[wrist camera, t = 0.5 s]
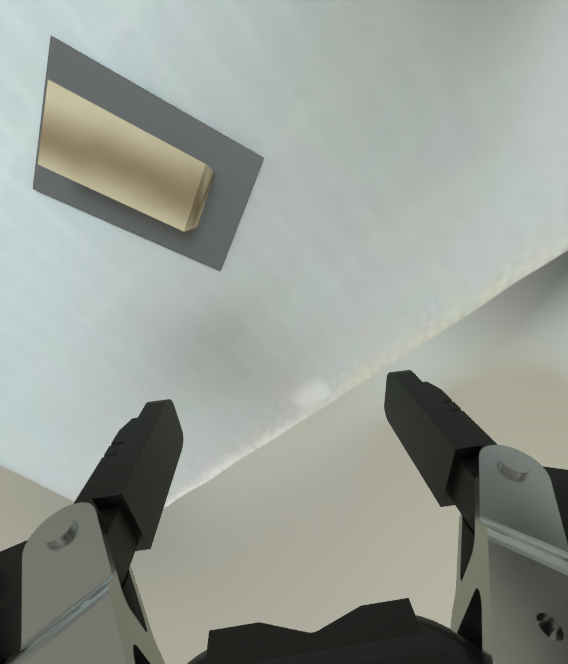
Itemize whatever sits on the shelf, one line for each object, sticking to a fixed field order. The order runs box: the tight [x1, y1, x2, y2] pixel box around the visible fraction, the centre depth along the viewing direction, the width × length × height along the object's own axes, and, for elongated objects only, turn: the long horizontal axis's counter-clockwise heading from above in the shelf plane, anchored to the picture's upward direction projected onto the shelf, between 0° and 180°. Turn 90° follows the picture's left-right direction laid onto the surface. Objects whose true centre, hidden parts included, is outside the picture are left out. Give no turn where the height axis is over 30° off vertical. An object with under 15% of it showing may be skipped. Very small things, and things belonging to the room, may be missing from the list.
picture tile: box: [33, 36, 264, 271], centre depth 28 cm, size 13×20×1 cm, turn 64°
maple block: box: [38, 80, 215, 232], centre depth 25 cm, size 6×12×6 cm, turn 64°
